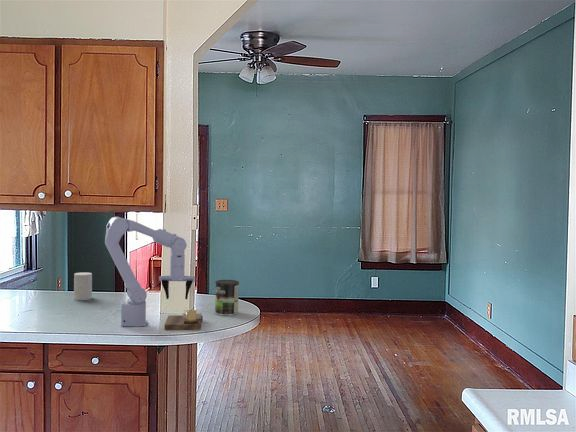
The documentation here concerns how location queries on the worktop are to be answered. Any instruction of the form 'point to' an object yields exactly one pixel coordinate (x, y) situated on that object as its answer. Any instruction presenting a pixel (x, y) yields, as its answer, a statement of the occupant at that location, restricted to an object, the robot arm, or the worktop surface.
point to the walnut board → (181, 323)
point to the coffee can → (226, 297)
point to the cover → (198, 314)
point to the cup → (83, 286)
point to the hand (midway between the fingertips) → (177, 298)
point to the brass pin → (190, 317)
